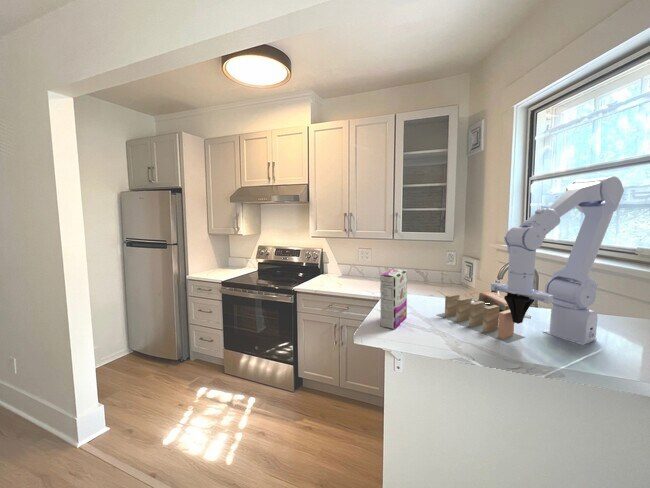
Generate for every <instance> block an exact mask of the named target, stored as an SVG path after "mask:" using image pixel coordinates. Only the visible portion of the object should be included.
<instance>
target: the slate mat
mask: <svg viewBox="0 0 650 488" xmlns="http://www.w3.org/2000/svg"><path fill="white" fill-rule="evenodd" d="M436 316H438V317H439V318H443V319H445V320H448V321H451V322H453V323H456V324H457V325H459V326H462V327H464V328H465V327H466V328H467V329H471V330H473V331H475V332H478V333H480V334H484V335H486V336H488V337H491V338H493V339H496V340H498V341H501V342H503V343H506V344H510V343H513V342H516V341H518V340H521V339H525V338H526V336H523V335H521V334H518V333H515V332H514V334H513V335H512V336H510V337H507V338H504V339H502V338H499V337H498V330H495V331H491V332H488V333H487V332H484V331H483V325H479V326H476V327H471V326H469V320H467V321H463V322H458V321H456V316H453V317H449V318H448V317H445V312H441V313H439V314H436Z"/></svg>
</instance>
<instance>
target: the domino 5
mask: <svg viewBox="0 0 650 488" xmlns="http://www.w3.org/2000/svg"><path fill="white" fill-rule="evenodd" d="M514 331H515V323H514V322H513V320H512V315H511V311H510V310H506V311H502V312H499V322H498V337H499V338H502V339H504V338H507V337H510V336H512V335H513V334H514V333H515V332H514Z"/></svg>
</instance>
